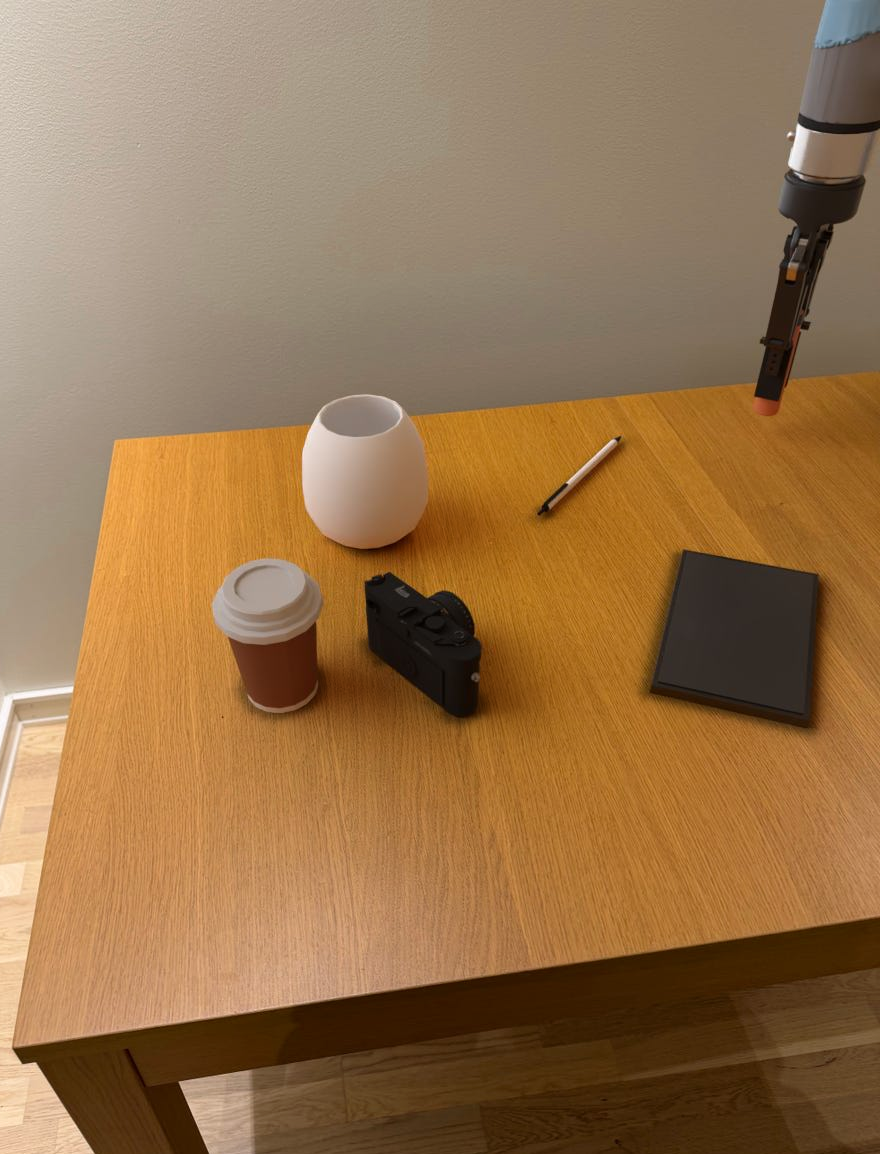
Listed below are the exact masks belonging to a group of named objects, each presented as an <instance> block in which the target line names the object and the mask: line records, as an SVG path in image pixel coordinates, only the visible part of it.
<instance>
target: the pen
mask: <svg viewBox="0 0 880 1154" xmlns="http://www.w3.org/2000/svg"><path fill="white" fill-rule="evenodd" d="M622 437H623V436H622V435H619V436H617V437H614V438H613V439H611V440H610V441H609V442H608V443H607V444H606V445H605V446H604V447H602V449H600V450H598V452H597V453H596V454H595V455H594V456H593V457H592V458H591V459H590V460H589V461H588V462H587V463H585V464H584V466H582V467H581V468H580V469H579V470H578V471H577V472H576V473H575V474H574V475H573V476H572V477H571V478H569V480H567V481H566V482H564V483H563V484H562V485H561V486H560V487H559V488H558V489H557V490H556V491H555V492H554V493H552V494H551V495H550V497H548V498H547V499H546V500H545V501H544V502H543V504H542V505H541V509H540V510H539V511H538V512H537V513H536V514H537V516H539V517H540V516H541V515H542V514H543V513H547V512H549V511H550V510H551V509H552V508H553V507H554V506H556V505H557V503H558V502H560V501H561V499H562V498H564V497H565V496H566V495H567V494H568V493H569V492H570V491H571V490H573V488H575V486H576V485H577V484H578V483H579V482H580V481H581V480H582V479H583V478H585V477H586V476H587V475H588V474H589V473H590V472H591V471H592V470H593V469H594V468H595V467H596V466H597V465H598V464H599V463H601V461H602V460H603V459H605V458H606V456H608V455H609V454H610V453H611V452H612V451H613V450H614V449H615V448H616V447H617V446H618V445H619V443H620V441H621V439H622Z"/></svg>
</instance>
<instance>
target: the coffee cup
mask: <svg viewBox="0 0 880 1154" xmlns="http://www.w3.org/2000/svg"><path fill="white" fill-rule="evenodd" d="M323 606H324V598H323V595H322V591H321V588H320V584H319V583H318V582H317V581H316V580H315V579H314V578H313V577H312V576H310V574H308V573H307V572H305V571H304V570H303V569H302V568H301V567H300V566H299V565H298V564H297V563H293V562H290V561H288V560H285V559H283V558H269V557H266V558H265V557H264V558H260V559H255V560H250V561H248V562H245V563H243V564H242V565H239V566H237V567H236V568H235V569H233V570H232V571H231V572H229V574H228V575H226V577H225V578H224V580H223V583H222V585H221V586H220V587H219V588H218V589H217V591H216V594H215V595H214V598H213V600H212V602H211V609H212V615H213V621H214V625H215V626H216V627H217V628H218V629H219V630H220V631H221V632H222V633H223V635H224V636H225V637H227V639H228V641H229V645H230V647H231V651H232V653H233V657H234V659H235V662H236V666H237V668H238V671H239V674H240V677H241V680H242V683H243V685H244V688H245V690H246V695H247V699H248V701H250V702H251V703H252V705H253V706H254V707H255V708H257V709H259V710H261V711H264V712H266V713H275V714H283V713H284V714H285V713H290V712H294V711H297V710H298V709H300V708H302V707H304V706H305V705H307V704H309V702H310V701H311V700H312V699H313V698H314V697H315V696H316V693H317V690H318V687H319V680H318V675H319V674H318V644H317V643H318V640H317V639H318V638H317V636H318V635H317V621H318V620H319V618H320V616H321V613H322V609H323Z"/></svg>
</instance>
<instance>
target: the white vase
mask: <svg viewBox="0 0 880 1154" xmlns="http://www.w3.org/2000/svg"><path fill="white" fill-rule="evenodd" d="M301 459H302V460H301V479H302V480H301V481H302V486H301V488H302V493H303V500H304V505H305V506H304V507H305V510H306V512H307V513H308V515H309V516H310V518H311V521H313V523H314V525H315V526H316V527H317V528H318V530H319V532H320V533H321V534H322V535H323V536H324V537H327V538H329V539H330V540H332V541H334V542H336V543H338V544H340V545H342V546H345V547H349V548H354V549H360V550H367V549H380V548H382V547H385V546H388V545H392V544H394V543H397V542H398V541H400V540H401V539H403V538H404V537H405V536H406V535H408V534H409V533H411V532H413V531H414V530H415V529H416V527H417V526H418V524H419V522H420V520H421V518H422V516H423V514H424V511H425V509H426V507H427V504H428V502H429V482H430V481H429V480H430V479H429V472H428V464H427V456H426V451H425V445H424V441H423V439H422V437H421V434H420V433H419V430H418V427H417V426H416V425H415V423H414V422H413V420H412V418H411V417H410V416H409V414H408V413H407V412H406V410H405V409H404V408H403V407H402V405H400V404H399V403H398V402H397V401H396V400H393V399H390V398H389V397H385V396H382V395H376V394H375V395H374V394H370V393H369V394H368V393H366V394H365V393H364V394H352V395H351V394H350V395H348V396H347V395H346V396H344V397H340V398H337V399H334V400H332V401H330V402H329V403H327V404H325V405H323V407H322V408H321V409H320V410H319V412H318V413H317V414H316V417H315V418H314V420H313V422H312V424H311V426H310V427H309V429H308V432H307V435H306V437H305V442H304V445H303V448H302V455H301Z"/></svg>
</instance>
